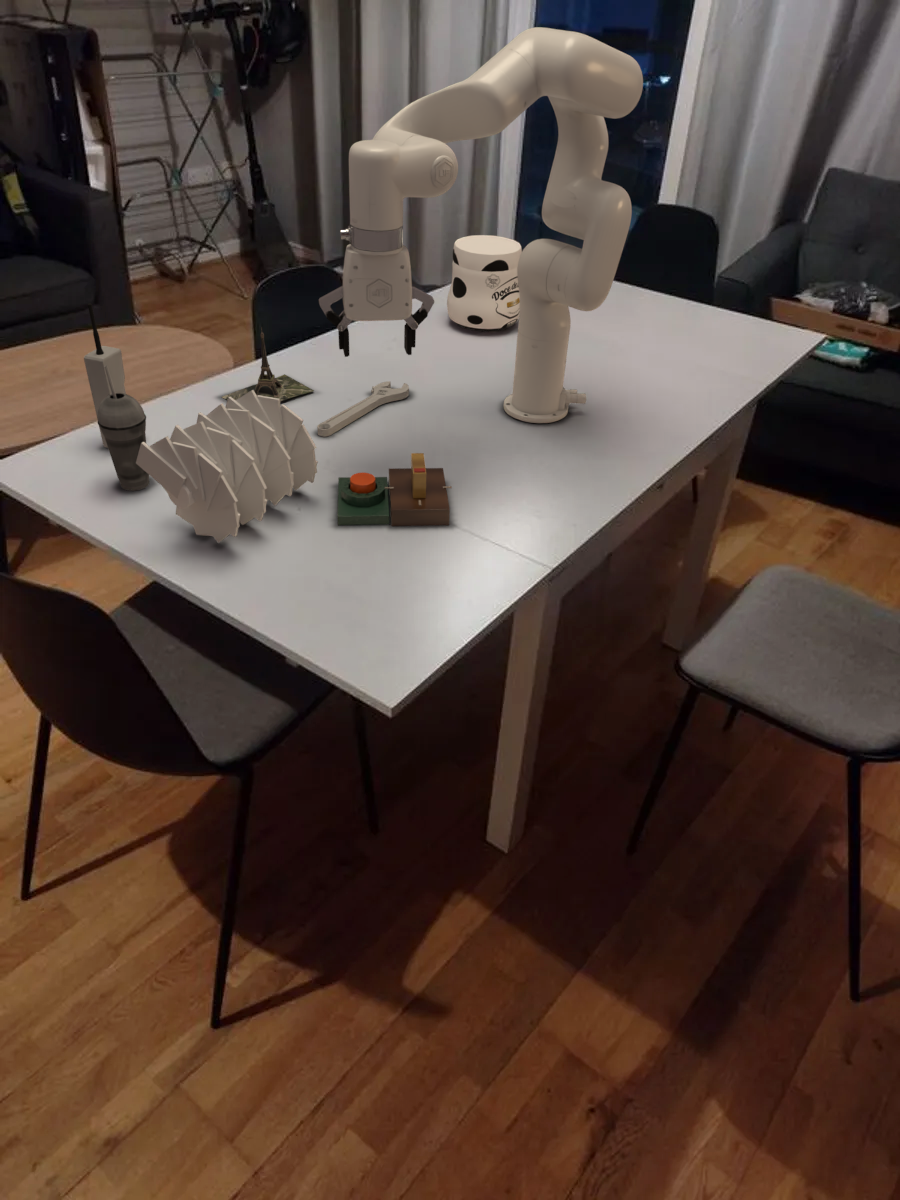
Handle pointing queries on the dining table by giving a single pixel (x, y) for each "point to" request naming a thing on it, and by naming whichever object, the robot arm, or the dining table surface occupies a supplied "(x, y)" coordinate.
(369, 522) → the button housing
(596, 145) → the robot arm
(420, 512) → the control panel
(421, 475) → the yellow box red tab
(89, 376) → the vintage mobile phone
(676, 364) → the dining table surface
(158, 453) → the spiral staircase
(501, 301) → the milk container
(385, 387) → the adjustable wrench
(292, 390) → the eiffel tower figurine
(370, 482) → the button
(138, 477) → the beverage cup
